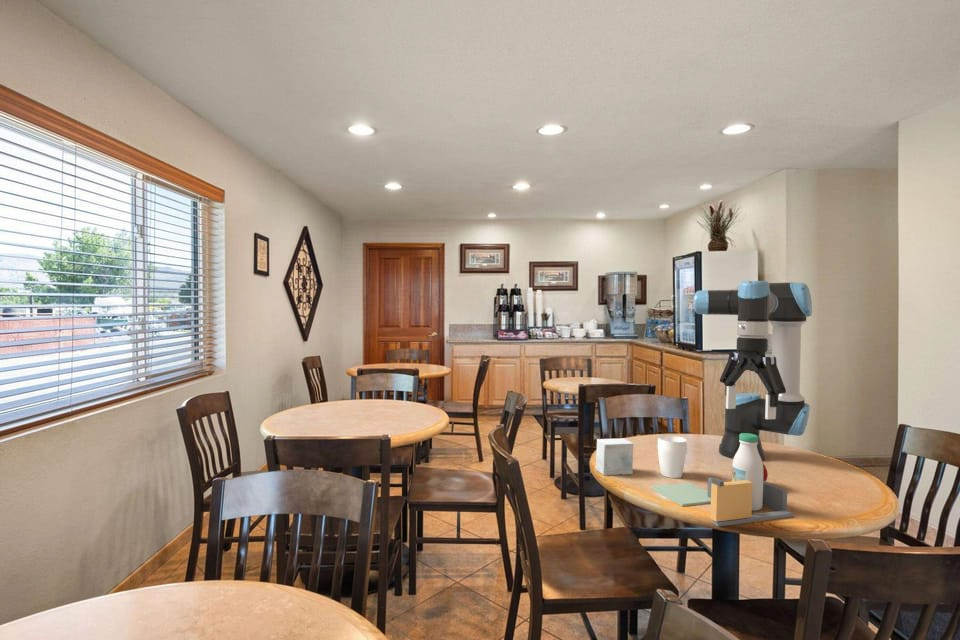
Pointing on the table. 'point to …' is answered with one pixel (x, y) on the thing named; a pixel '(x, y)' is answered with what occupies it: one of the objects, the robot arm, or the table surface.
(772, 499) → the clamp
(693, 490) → the mat
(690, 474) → the table surface
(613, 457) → the skincare box
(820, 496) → the table surface
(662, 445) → the cup
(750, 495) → the tan wooden slab
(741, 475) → the milk bottle
